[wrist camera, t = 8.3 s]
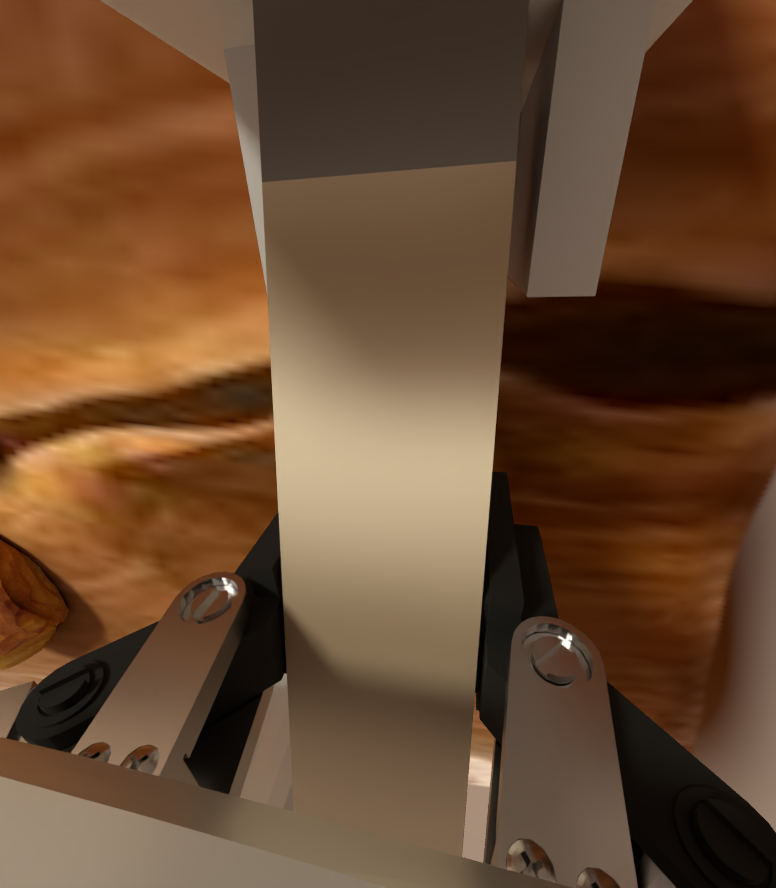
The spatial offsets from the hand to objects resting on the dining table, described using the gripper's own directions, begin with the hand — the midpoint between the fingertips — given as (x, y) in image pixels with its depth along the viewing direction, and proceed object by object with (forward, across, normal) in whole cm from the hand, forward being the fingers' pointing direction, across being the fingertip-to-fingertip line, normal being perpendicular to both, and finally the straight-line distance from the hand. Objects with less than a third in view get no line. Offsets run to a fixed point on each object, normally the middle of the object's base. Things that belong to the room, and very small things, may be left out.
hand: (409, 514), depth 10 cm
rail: (+2, 0, 0) cm, 2 cm away
